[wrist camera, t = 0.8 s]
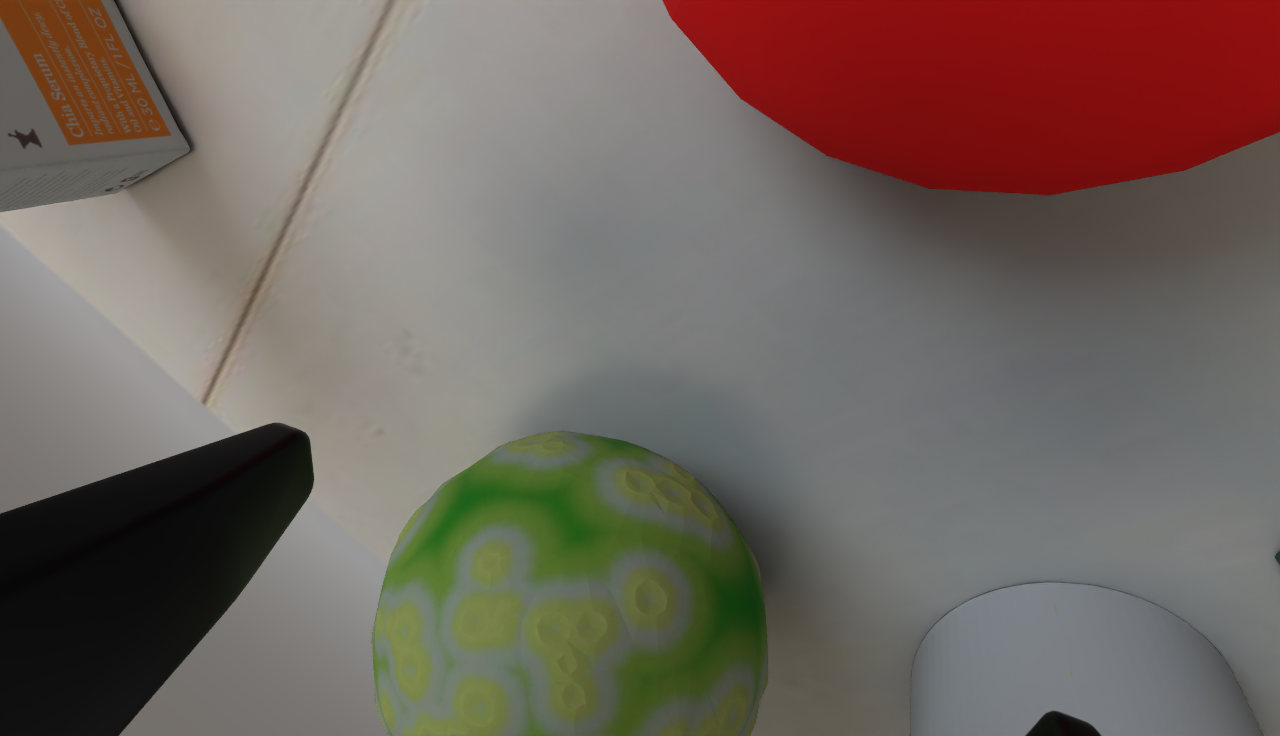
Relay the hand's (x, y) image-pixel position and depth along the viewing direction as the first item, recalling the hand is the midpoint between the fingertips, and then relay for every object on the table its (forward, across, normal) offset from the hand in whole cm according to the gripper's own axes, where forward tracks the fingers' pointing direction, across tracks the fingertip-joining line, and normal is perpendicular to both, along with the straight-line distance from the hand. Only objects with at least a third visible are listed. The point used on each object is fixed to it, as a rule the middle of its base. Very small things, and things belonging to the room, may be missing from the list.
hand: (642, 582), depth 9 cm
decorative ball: (+11, +2, +10) cm, 15 cm away
